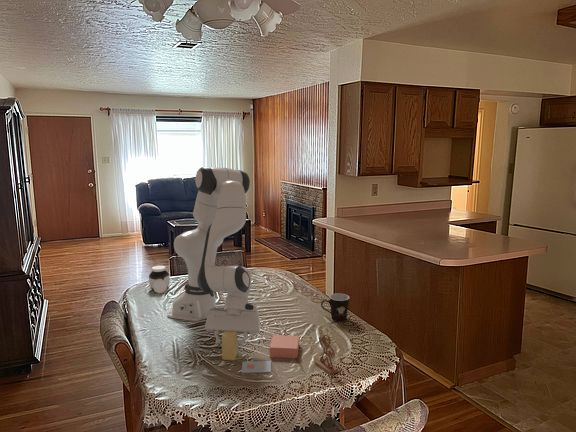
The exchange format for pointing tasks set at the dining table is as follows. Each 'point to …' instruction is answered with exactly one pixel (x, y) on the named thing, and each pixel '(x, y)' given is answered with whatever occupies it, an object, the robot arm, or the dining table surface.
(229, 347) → the ochre brick
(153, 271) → the spread jar
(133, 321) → the dining table surface
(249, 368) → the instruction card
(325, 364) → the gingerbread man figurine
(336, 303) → the coffee mug
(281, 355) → the base brick
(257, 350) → the dining table surface
